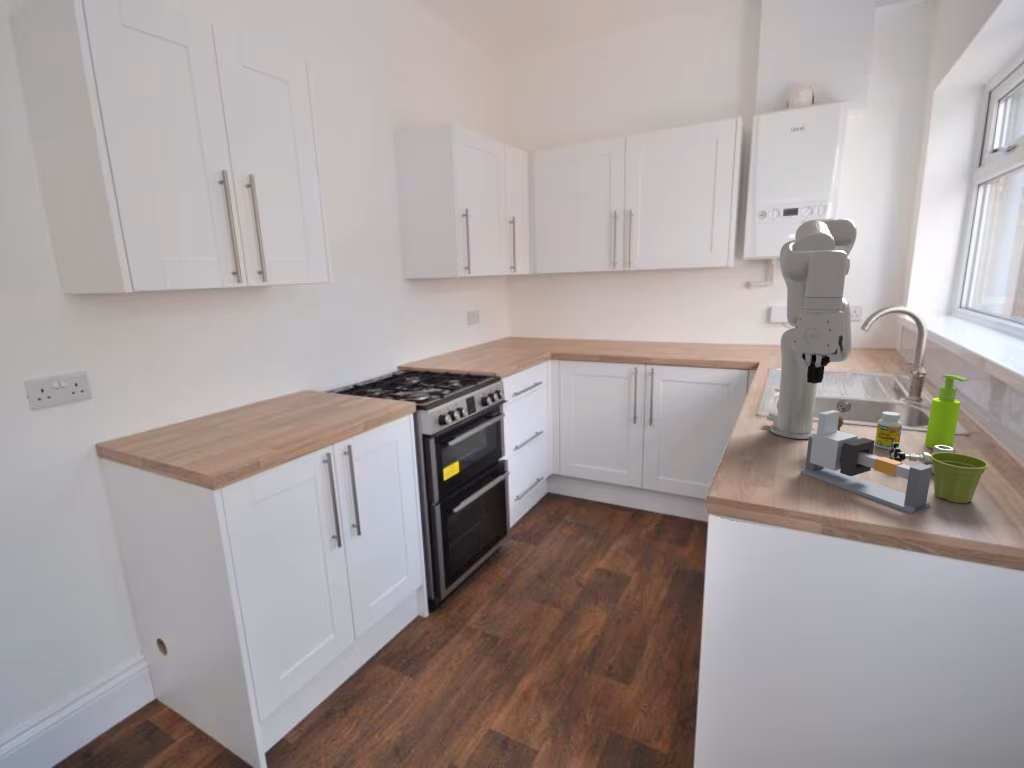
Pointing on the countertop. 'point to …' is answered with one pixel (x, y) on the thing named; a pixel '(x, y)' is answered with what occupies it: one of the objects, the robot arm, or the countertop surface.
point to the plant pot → (956, 476)
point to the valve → (924, 458)
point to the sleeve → (829, 441)
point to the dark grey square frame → (855, 456)
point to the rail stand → (906, 502)
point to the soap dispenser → (944, 415)
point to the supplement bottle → (888, 430)
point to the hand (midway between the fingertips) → (814, 382)
